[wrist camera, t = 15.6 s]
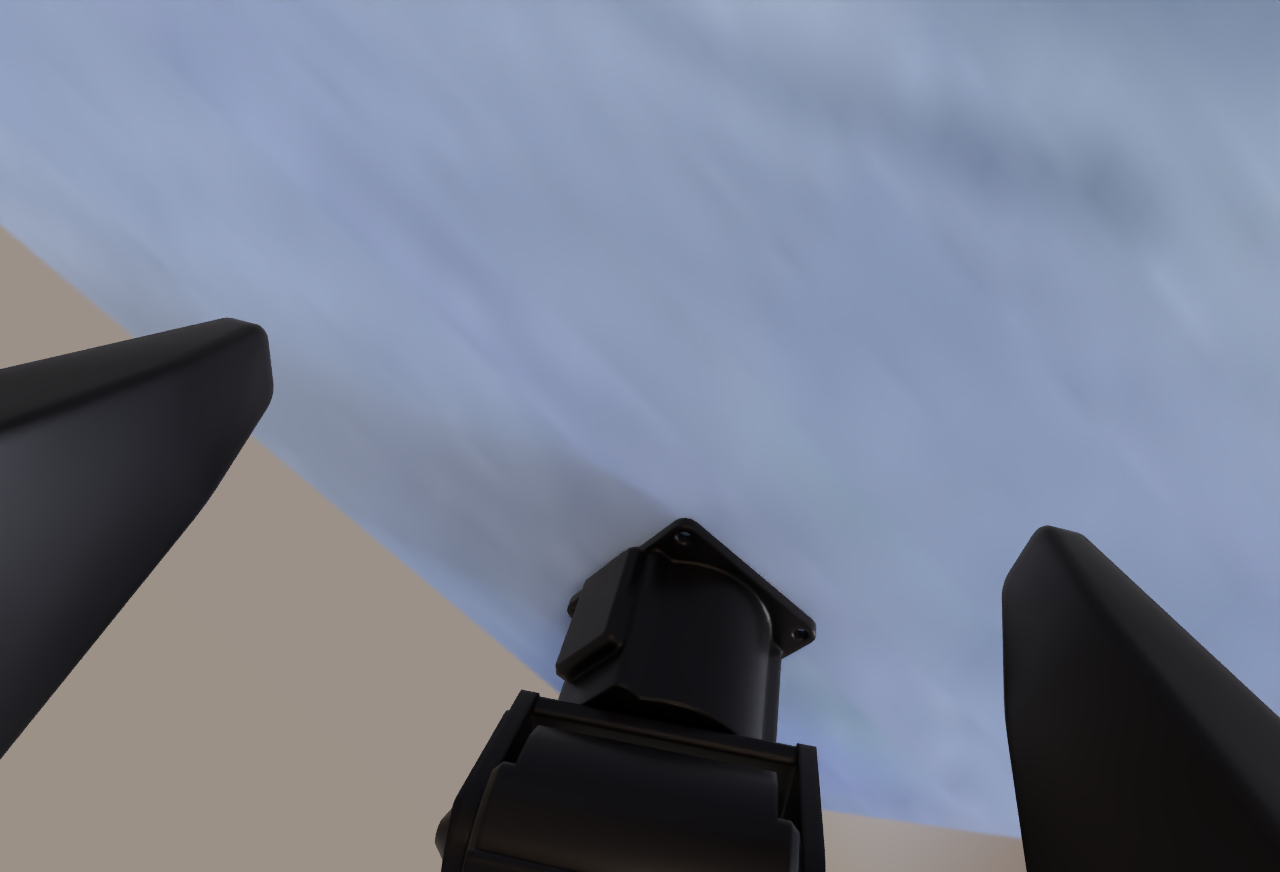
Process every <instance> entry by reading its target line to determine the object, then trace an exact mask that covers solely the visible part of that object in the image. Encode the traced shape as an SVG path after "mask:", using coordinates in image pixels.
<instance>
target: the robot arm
mask: <svg viewBox="0 0 1280 872" xmlns="http://www.w3.org/2000/svg"><path fill="white" fill-rule="evenodd" d="M272 395H273V376H272V368H271V359H270V351H269V342H268V337H267V334H266V332H265V330H264V329H263V328H262V327H261V326H259V325H257V324H253V323H249V322H245V321H241V320H237V319H233V318H221V319H217V320H213V321H208V322H204V323H200V324H195V325H191V326H187V327H182V328H178V329H173V330H169V331H165V332H160V333H156V334H152V335H147V336H143V337H139V338H134V339H130V340H125V341H121V342H117V343H112V344H108V345H104V346H100V347H95V348H91V349H86V350H82V351H77V352H73V353H69V354H65V355H61V356H56V357H51V358H47V359H43V360H38V361H34V362H30V363H25V364H21V365H16V366H12V367H8V368H4V369H0V759H1V758H2V757H3V755H4V754H5V753H6V751H7V750H8V749H9V748H10V746H11V745H12V744H13V743H14V742H15V740H16V739H17V738H18V737H19V736H20V734H21V733H22V732H23V731H24V729H25V728H26V727H27V725H28V724H29V723H30V722H31V720H32V719H33V718H34V717H35V715H36V714H37V713H38V712H39V711H40V710H41V708H42V707H43V706H44V705H45V703H46V702H47V701H48V700H49V698H50V697H51V696H52V695H53V693H54V692H55V691H56V690H57V688H58V687H59V686H60V685H61V683H62V682H63V681H64V680H65V679H66V677H67V676H68V675H69V674H70V672H71V671H72V670H73V669H74V667H75V666H76V665H77V664H78V662H79V661H80V660H81V659H82V657H83V656H84V655H85V654H86V653H87V651H88V650H89V649H90V648H91V646H92V645H93V644H94V643H95V641H96V640H97V639H98V638H99V636H100V635H101V634H102V633H103V631H104V630H105V629H106V627H108V625H109V624H110V623H111V622H112V620H113V619H114V618H115V617H116V615H117V614H118V613H119V612H120V610H121V609H122V608H123V607H124V605H125V604H126V603H127V602H128V600H129V599H130V598H131V597H132V595H133V594H134V593H135V592H136V591H137V589H138V588H139V587H140V586H141V584H142V583H143V582H144V581H145V579H146V578H147V577H148V576H149V574H150V573H151V572H152V571H153V570H154V568H155V567H156V566H157V565H158V563H159V562H160V561H161V560H162V558H163V557H164V556H165V555H166V553H167V552H168V551H169V550H170V548H171V547H172V546H173V545H174V543H175V542H176V541H177V540H178V539H179V537H180V536H181V535H182V534H183V532H184V531H185V530H186V529H187V527H188V526H189V525H190V524H191V522H192V521H193V520H194V519H195V517H196V516H197V515H198V513H199V512H200V511H201V509H202V508H203V507H204V505H205V504H206V503H207V501H208V500H209V498H210V497H211V496H212V494H213V493H214V491H215V490H216V488H217V487H218V485H219V484H220V482H221V480H222V479H223V477H224V476H225V474H226V472H227V471H228V469H229V468H230V466H231V465H232V463H233V461H234V460H235V458H236V457H237V455H238V454H239V452H240V450H241V449H242V447H243V446H244V444H245V442H246V441H247V439H248V438H249V436H250V435H251V433H252V431H253V430H254V428H255V427H256V425H257V423H258V422H259V420H260V419H261V417H262V416H263V414H264V412H265V411H266V409H267V408H268V406H269V404H270V401H271V399H272ZM680 532H687V533H689V534H691V535H690V536H684V535H682V534H681V533H680ZM567 612H568V614H569V616H570V617H571V618H572V620H571V623H570V626H569V628H568V631H567V634H566V637H565V640H564V643H563V645H562V648H561V651H560V654H559V657H558V659H557V662H556V674H557V675H558V676H559V677H561V678H562V679H563V680H565V681H564V684H563V687H562V690H561V693H560V696H559V699H558V700H555V699H550V698H545V697H540V695H539V693H536V692H531V691H525V690H521V691H520V693H519V694H518V696H517V698H516V700H515V701H514V703H513V705H512V706H511V709H510V710H507V711H506V712H505V713H504V715H503V717H502V719H501V720H500V722H499V724H498V725H497V727H496V729H495V731H494V732H493V734H492V736H491V738H490V740H489V741H488V743H487V745H486V746H485V748H484V750H483V751H482V753H481V755H480V757H479V758H478V760H477V762H476V764H475V765H474V767H473V769H472V770H471V772H470V774H469V776H468V778H467V779H466V781H465V783H464V785H463V786H462V788H461V790H460V791H459V793H458V795H457V797H456V799H455V801H454V804H453V807H452V809H451V810H450V811H449V812H448V813H447V814H446V815H445V816H444V817H443V819H442V820H441V821H440V824H439V826H438V829H437V833H436V837H435V844H436V846H437V849H438V851H439V853H440V855H441V857H442V860H443V861H442V868H441V872H825V849H824V836H823V823H822V811H821V799H820V786H819V774H818V762H817V749H816V747H814V746H809V745H804V744H799V743H797V745H796V746H791V745H786V744H781V743H776V737H777V720H778V704H779V687H780V671H781V659H782V658H784V657H786V656H788V655H790V654H792V653H793V652H795V651H797V650H799V649H801V648H802V647H804V646H806V645H808V644H810V643H811V642H812V641H814V640H815V637H816V625H815V622H814V621H813V620H812V619H811V618H810V617H809V616H807V615H806V614H805V613H804V612H803V611H801V610H800V609H799V608H798V607H797V606H796V605H794V604H793V603H792V602H791V601H790V600H788V599H787V598H786V597H785V596H784V595H782V594H781V593H780V592H779V591H778V590H777V589H775V588H774V587H773V586H772V585H771V584H769V583H768V582H767V581H766V580H765V579H763V578H762V577H761V576H760V575H759V574H758V573H756V572H755V571H754V570H753V569H752V568H750V567H749V566H748V565H747V564H746V563H745V562H743V561H742V560H741V559H740V558H739V557H737V556H736V555H735V554H734V553H733V552H731V551H730V550H729V549H728V548H727V547H726V546H724V545H723V544H722V543H721V542H720V541H718V540H717V539H716V538H715V537H714V536H712V535H711V534H710V533H709V532H708V531H707V530H705V529H704V528H703V527H702V526H701V525H699V524H698V523H697V522H695V521H694V520H692V519H688V518H681V519H678V520H676V521H674V522H673V523H672V524H670V525H669V526H668V527H666V528H665V529H664V530H662V531H661V532H659V533H658V534H657V535H655V536H654V537H653V538H651V539H650V540H649V541H647V542H646V543H645V544H643V545H642V546H641V547H633V548H628V549H627V550H626V551H624V552H623V553H622V554H620V555H619V556H618V557H616V558H615V559H614V560H612V561H611V562H610V563H608V564H607V565H606V566H604V567H603V568H602V569H600V570H599V571H598V572H596V573H595V574H594V575H592V576H591V577H590V578H588V579H587V580H586V581H585V583H584V586H583V589H582V590H581V591H580V592H578V593H577V594H576V595H574V596H573V597H572V598H571V600H570V602H569V605H568V609H567ZM1002 628H1003V677H1004V707H1005V721H1006V730H1007V738H1008V745H1009V752H1010V759H1011V766H1012V773H1013V780H1014V787H1015V794H1016V801H1017V807H1018V814H1019V821H1020V828H1021V835H1022V842H1023V849H1024V856H1025V862H1026V870H1027V872H1280V718H1279V717H1278V716H1277V715H1276V714H1275V713H1274V712H1273V711H1272V710H1271V709H1270V708H1269V707H1268V706H1267V705H1265V704H1264V703H1263V702H1262V701H1261V700H1260V699H1259V698H1258V697H1257V696H1256V695H1255V694H1254V693H1253V692H1251V691H1250V690H1249V689H1248V688H1247V687H1246V686H1245V685H1244V684H1243V683H1242V682H1241V681H1240V680H1239V679H1237V678H1236V677H1235V676H1234V675H1233V674H1232V673H1231V672H1230V671H1229V670H1228V669H1227V668H1226V667H1225V666H1223V665H1222V664H1221V663H1220V662H1219V661H1218V660H1217V659H1216V658H1215V657H1214V656H1213V655H1212V654H1211V653H1209V652H1208V651H1207V650H1206V649H1205V648H1204V647H1203V646H1202V645H1201V644H1200V643H1199V642H1198V641H1197V640H1196V639H1194V638H1193V637H1192V636H1191V635H1190V634H1189V633H1188V632H1187V631H1186V630H1185V629H1184V628H1183V627H1182V626H1180V625H1179V624H1178V623H1177V622H1176V621H1175V620H1174V619H1173V618H1172V617H1171V616H1170V615H1169V614H1168V613H1166V612H1165V611H1164V610H1163V609H1162V608H1161V607H1160V606H1159V605H1158V604H1157V603H1156V602H1155V601H1154V600H1153V599H1151V598H1150V597H1149V596H1148V595H1147V594H1146V593H1145V592H1144V591H1143V590H1142V589H1141V588H1140V587H1139V586H1137V585H1136V584H1135V583H1134V582H1133V581H1132V580H1131V579H1130V578H1129V577H1128V576H1127V575H1126V574H1125V573H1123V572H1122V571H1121V570H1120V569H1119V568H1118V567H1117V566H1116V565H1115V564H1114V563H1113V562H1112V561H1111V560H1110V559H1108V558H1107V557H1106V556H1105V555H1104V554H1103V553H1102V552H1101V551H1100V550H1099V549H1098V548H1097V547H1096V546H1094V545H1093V544H1092V543H1091V542H1090V541H1089V540H1088V539H1087V538H1086V537H1085V536H1083V535H1082V534H1079V533H1077V532H1073V531H1069V530H1065V529H1061V528H1057V527H1053V526H1048V525H1047V526H1043V527H1040V528H1039V529H1038V530H1036V531H1035V533H1034V534H1033V535H1032V537H1031V538H1030V540H1029V541H1028V543H1027V545H1026V546H1025V548H1024V549H1023V551H1022V552H1021V554H1020V556H1019V557H1018V559H1017V560H1016V562H1015V563H1014V565H1013V567H1012V568H1011V570H1010V571H1009V573H1008V575H1007V577H1006V579H1005V582H1004V585H1003V590H1002ZM798 629H803V630H805V631H798Z"/></svg>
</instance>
